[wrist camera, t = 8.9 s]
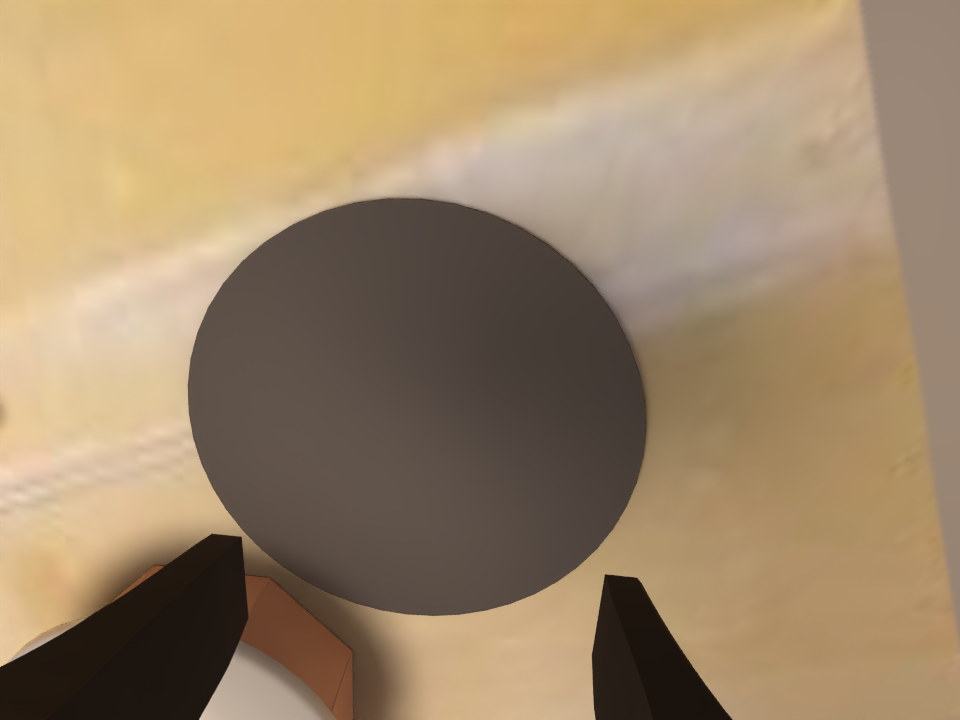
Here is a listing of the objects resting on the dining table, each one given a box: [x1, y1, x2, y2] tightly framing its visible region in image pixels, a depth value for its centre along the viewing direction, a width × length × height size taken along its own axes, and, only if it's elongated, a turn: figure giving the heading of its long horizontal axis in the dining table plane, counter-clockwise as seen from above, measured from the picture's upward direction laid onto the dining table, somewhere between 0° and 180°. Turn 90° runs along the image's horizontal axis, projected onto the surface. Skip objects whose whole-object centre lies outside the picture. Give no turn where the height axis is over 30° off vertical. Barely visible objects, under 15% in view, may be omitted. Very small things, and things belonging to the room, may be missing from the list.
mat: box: [188, 199, 646, 616], centre depth 23 cm, size 16×16×1 cm
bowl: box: [106, 565, 353, 720], centre depth 27 cm, size 12×12×4 cm
